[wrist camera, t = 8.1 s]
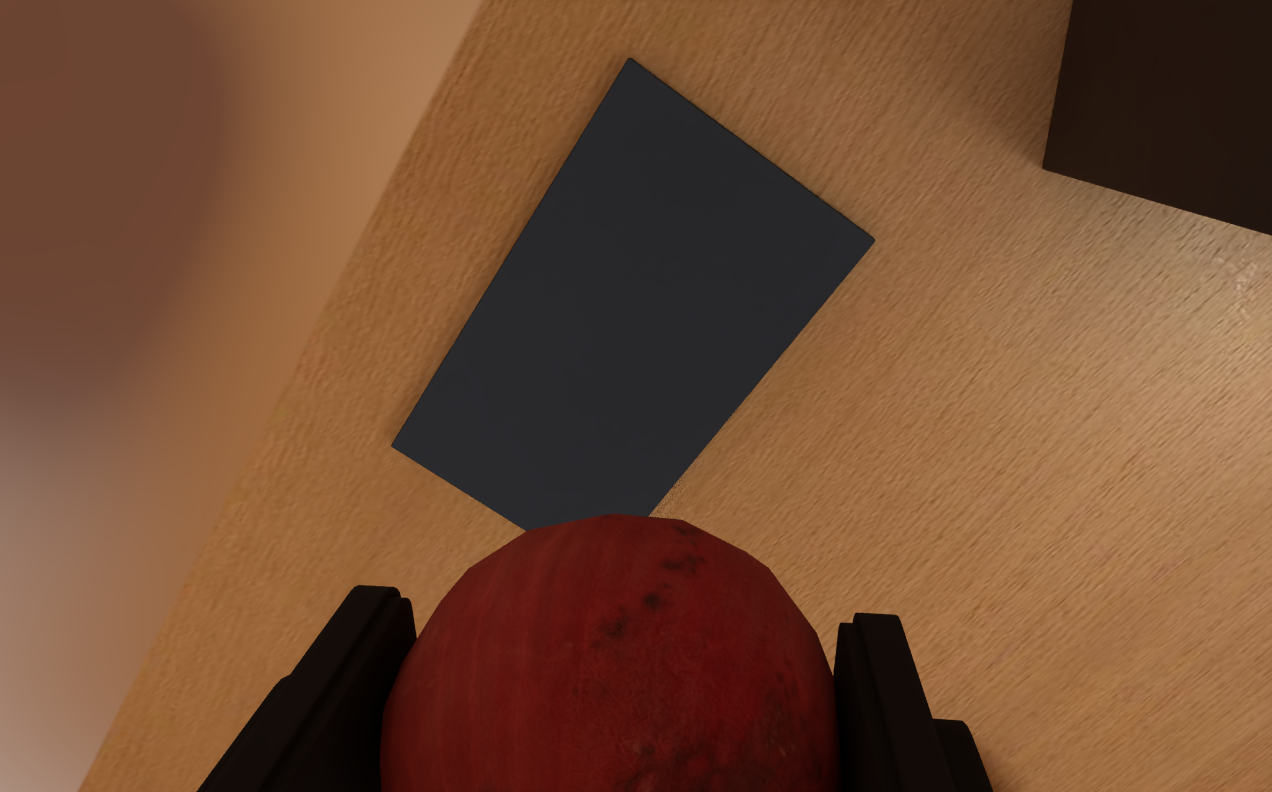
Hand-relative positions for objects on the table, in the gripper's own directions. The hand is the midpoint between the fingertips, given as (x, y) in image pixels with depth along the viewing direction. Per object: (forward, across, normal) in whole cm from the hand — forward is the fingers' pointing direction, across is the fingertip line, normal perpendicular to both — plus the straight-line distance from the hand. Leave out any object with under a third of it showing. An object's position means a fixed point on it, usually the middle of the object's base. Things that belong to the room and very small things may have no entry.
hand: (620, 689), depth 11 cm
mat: (+29, +4, +5) cm, 30 cm away
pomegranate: (+3, 0, 0) cm, 3 cm away
